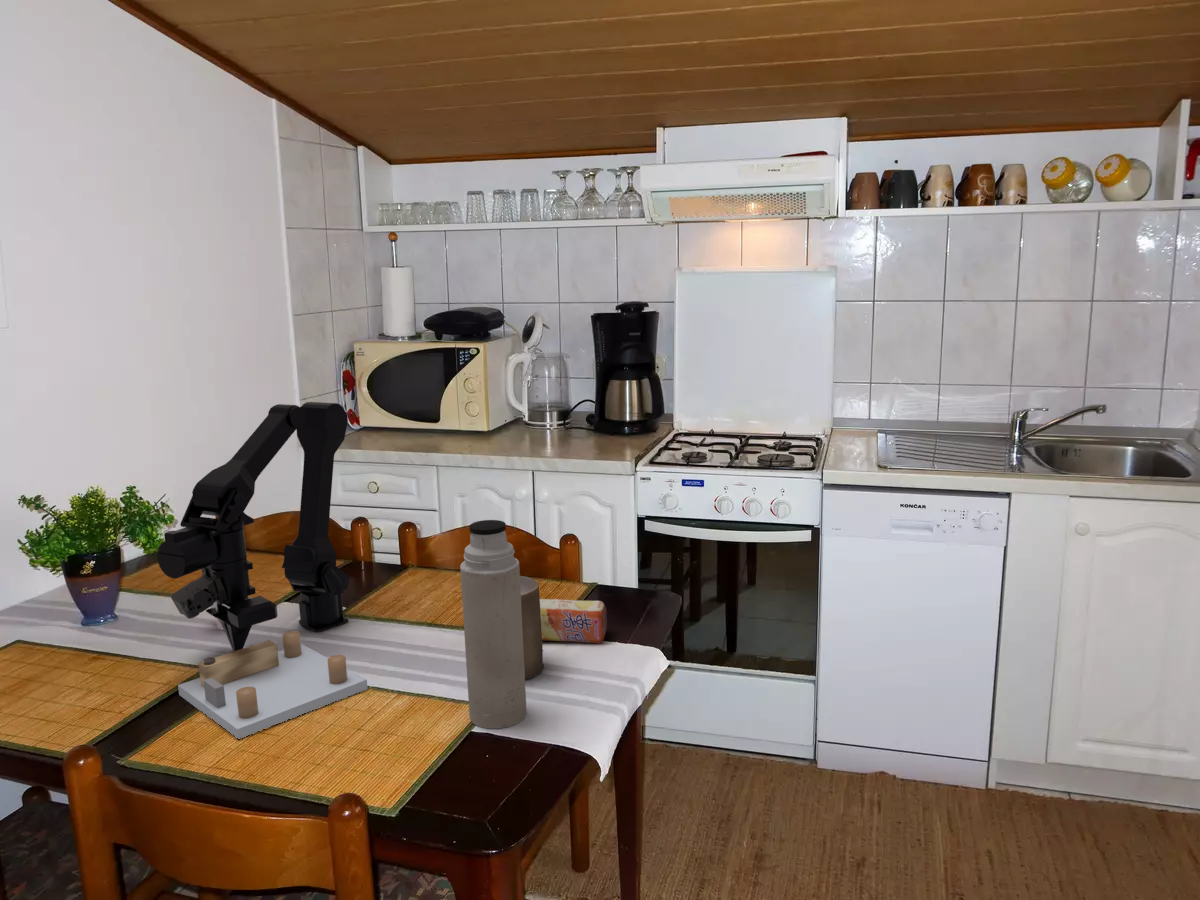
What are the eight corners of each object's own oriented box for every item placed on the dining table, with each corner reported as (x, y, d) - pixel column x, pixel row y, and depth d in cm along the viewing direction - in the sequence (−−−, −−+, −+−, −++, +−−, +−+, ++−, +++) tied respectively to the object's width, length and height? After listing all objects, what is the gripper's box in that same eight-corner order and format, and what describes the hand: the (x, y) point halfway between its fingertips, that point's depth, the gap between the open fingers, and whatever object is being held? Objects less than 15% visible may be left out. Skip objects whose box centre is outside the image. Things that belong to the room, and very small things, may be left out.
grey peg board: (302, 652, 155) (299, 623, 154) (367, 689, 141) (364, 657, 140) (179, 695, 141) (175, 663, 140) (238, 740, 127) (234, 705, 126)
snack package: (608, 631, 160) (607, 594, 159) (603, 647, 154) (602, 608, 153) (487, 628, 163) (485, 591, 162) (477, 643, 157) (475, 605, 156)
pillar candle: (552, 658, 150) (547, 569, 147) (531, 685, 141) (526, 590, 138) (495, 654, 152) (489, 566, 149) (471, 680, 143) (464, 586, 140)
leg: (207, 689, 139) (204, 664, 138) (201, 684, 140) (197, 659, 139) (279, 665, 146) (276, 641, 146) (271, 660, 148) (269, 636, 147)
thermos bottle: (484, 698, 137) (474, 513, 131) (535, 705, 134) (526, 517, 129) (459, 724, 130) (446, 529, 124) (512, 732, 127) (502, 533, 121)
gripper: (150, 558, 147) (163, 651, 150) (200, 585, 134) (212, 686, 137) (220, 541, 155) (230, 630, 158) (274, 565, 142) (284, 661, 145)
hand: (237, 651), depth 149 cm, fingers closed
